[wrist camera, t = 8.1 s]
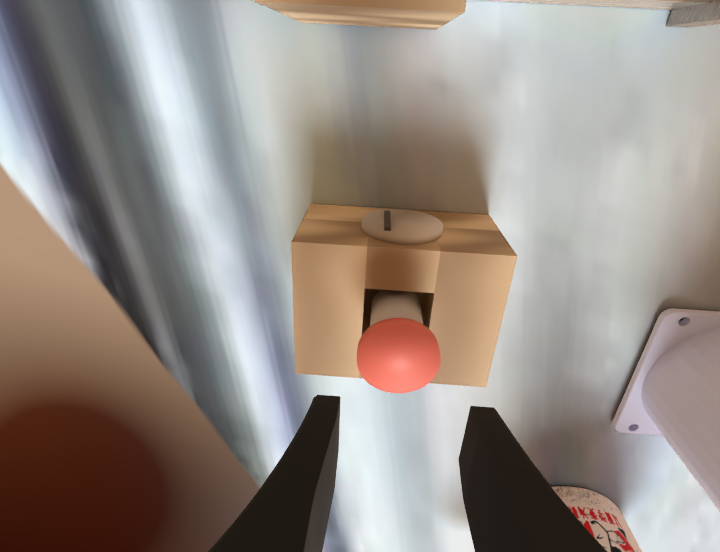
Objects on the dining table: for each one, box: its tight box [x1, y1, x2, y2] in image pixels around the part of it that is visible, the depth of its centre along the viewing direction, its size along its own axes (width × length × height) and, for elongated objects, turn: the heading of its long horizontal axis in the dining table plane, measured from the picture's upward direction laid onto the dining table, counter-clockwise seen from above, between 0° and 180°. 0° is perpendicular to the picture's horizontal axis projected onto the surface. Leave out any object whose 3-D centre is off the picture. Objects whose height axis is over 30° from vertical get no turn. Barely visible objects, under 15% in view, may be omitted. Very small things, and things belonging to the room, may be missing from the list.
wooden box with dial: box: [292, 204, 517, 387], centre depth 18 cm, size 8×6×4 cm
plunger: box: [357, 290, 441, 393], centre depth 16 cm, size 3×3×4 cm
